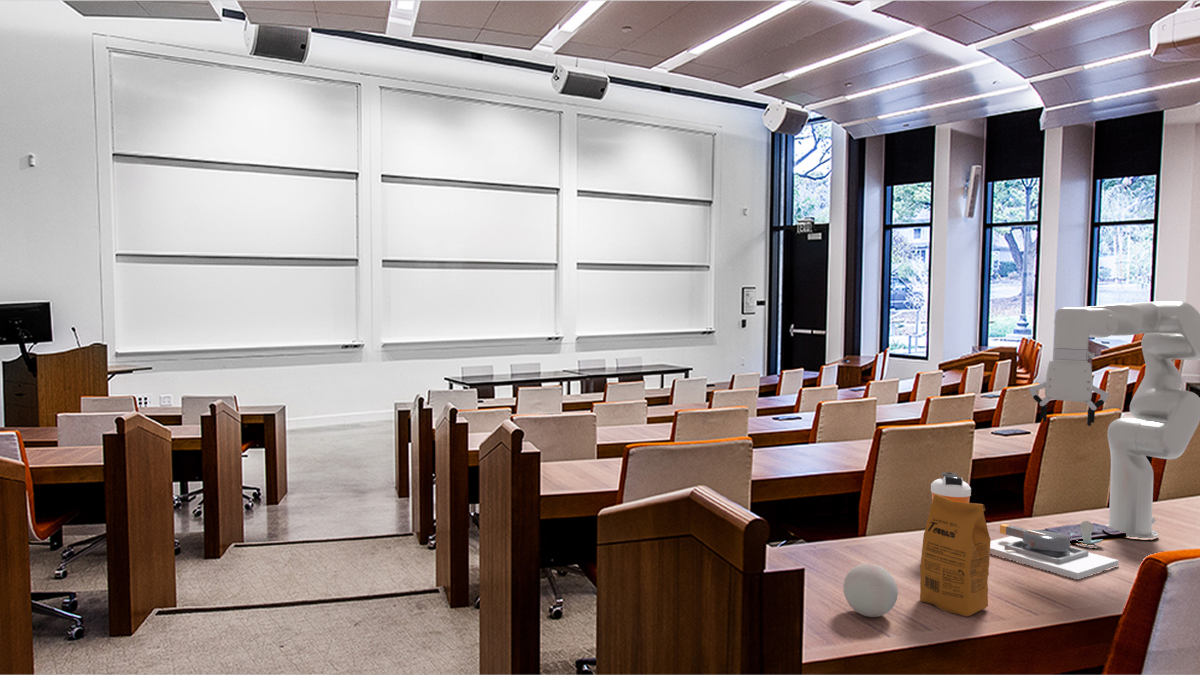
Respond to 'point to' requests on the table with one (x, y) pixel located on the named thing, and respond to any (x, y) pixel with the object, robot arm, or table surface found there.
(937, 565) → the coffee package
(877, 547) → the table surface
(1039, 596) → the table surface
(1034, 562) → the panel
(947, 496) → the shaker bottle
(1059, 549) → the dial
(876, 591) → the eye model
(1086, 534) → the pacifier
